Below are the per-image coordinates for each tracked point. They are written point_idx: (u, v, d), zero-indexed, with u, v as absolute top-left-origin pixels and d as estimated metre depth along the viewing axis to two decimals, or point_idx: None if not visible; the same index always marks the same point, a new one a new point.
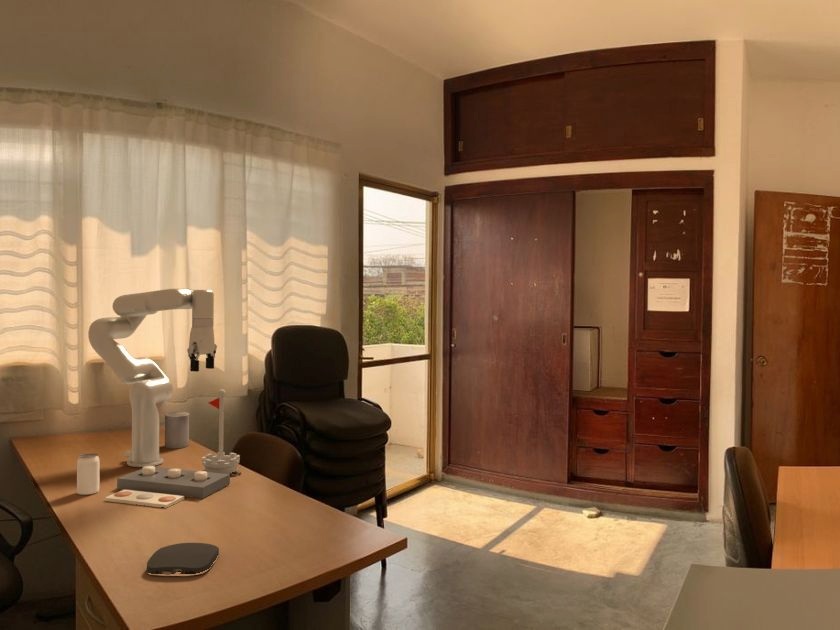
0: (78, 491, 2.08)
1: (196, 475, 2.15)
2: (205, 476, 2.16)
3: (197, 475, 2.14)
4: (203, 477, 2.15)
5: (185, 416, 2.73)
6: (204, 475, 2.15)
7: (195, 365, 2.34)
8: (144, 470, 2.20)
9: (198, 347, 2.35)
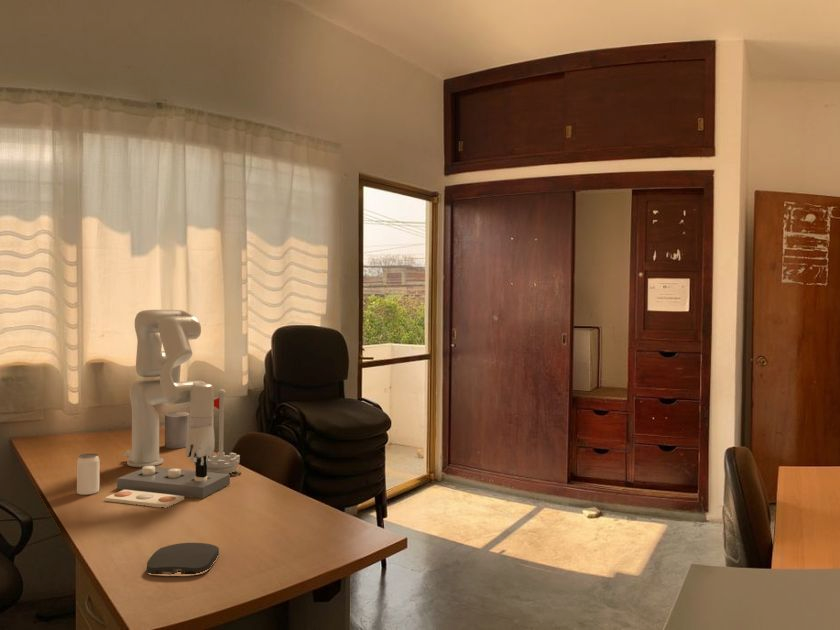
0: (78, 491, 2.08)
1: (196, 479, 2.15)
2: (205, 480, 2.16)
3: (197, 479, 2.15)
4: (203, 481, 2.15)
5: (185, 416, 2.73)
6: (204, 479, 2.15)
7: (201, 471, 2.15)
8: (144, 470, 2.20)
9: (196, 450, 2.11)
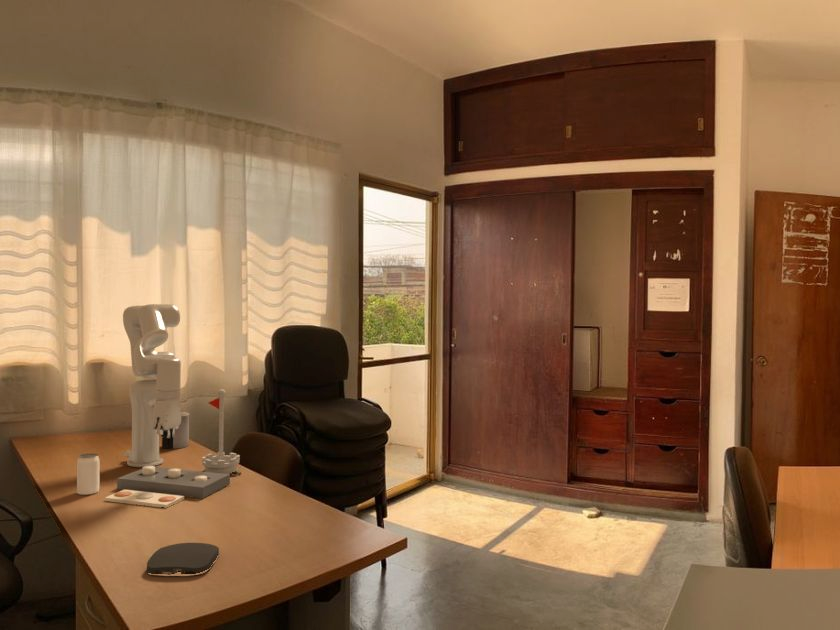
0: (78, 491, 2.08)
1: (196, 480, 2.15)
2: None
3: (197, 480, 2.15)
4: None
5: (185, 416, 2.73)
6: (204, 480, 2.15)
7: (167, 443, 2.18)
8: (144, 470, 2.20)
9: (163, 423, 2.14)
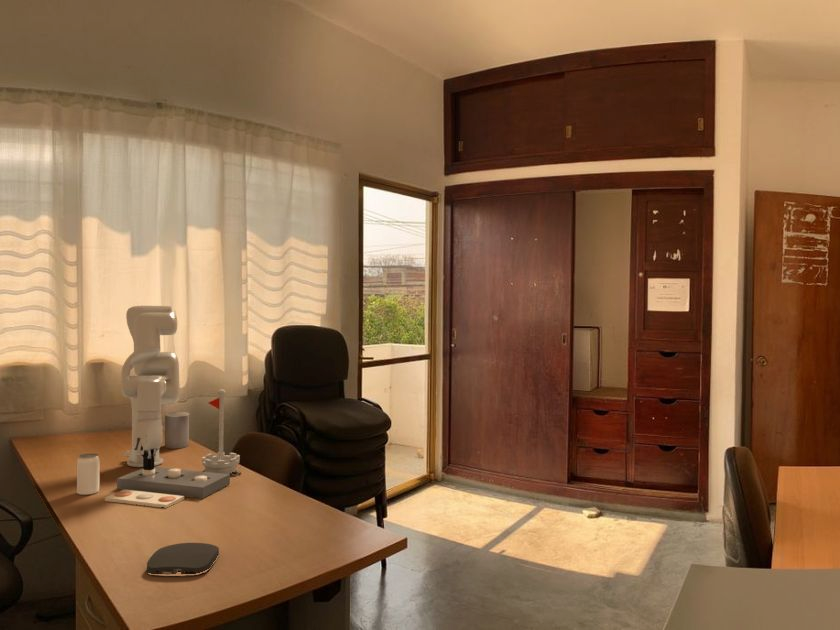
0: (78, 491, 2.08)
1: (196, 480, 2.15)
2: None
3: (197, 480, 2.15)
4: None
5: (185, 416, 2.73)
6: (204, 480, 2.15)
7: (148, 463, 2.20)
8: (144, 472, 2.20)
9: (143, 443, 2.16)
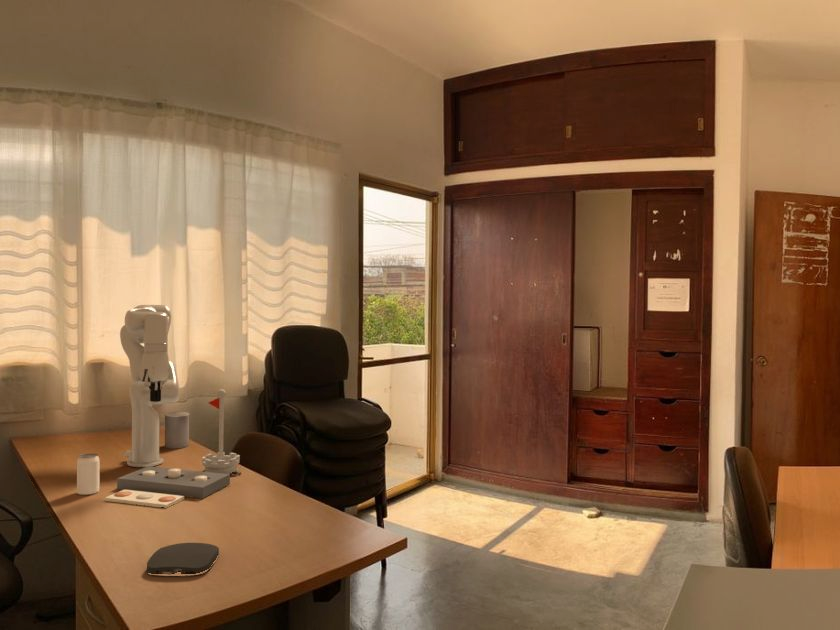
0: (78, 491, 2.08)
1: (196, 480, 2.15)
2: None
3: (197, 480, 2.15)
4: None
5: (185, 416, 2.73)
6: (204, 480, 2.15)
7: (155, 395, 2.26)
8: (144, 475, 2.20)
9: (150, 374, 2.22)
